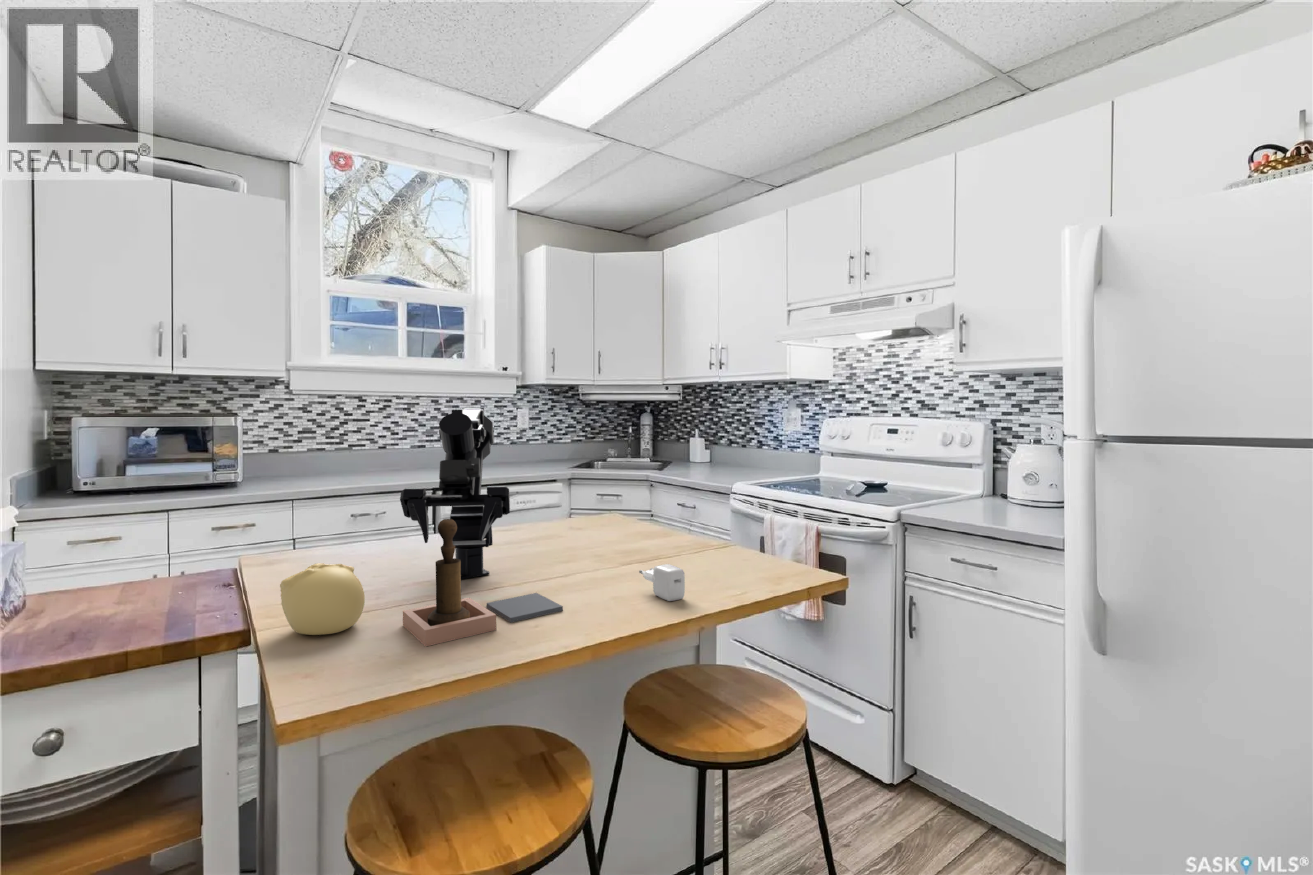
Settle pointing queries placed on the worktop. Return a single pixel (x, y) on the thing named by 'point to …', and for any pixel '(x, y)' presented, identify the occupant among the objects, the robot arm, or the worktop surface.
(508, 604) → the mat
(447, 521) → the mortar and pestle
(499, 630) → the worktop surface
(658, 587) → the power adapter
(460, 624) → the tray
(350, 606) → the pale yellow round lump
